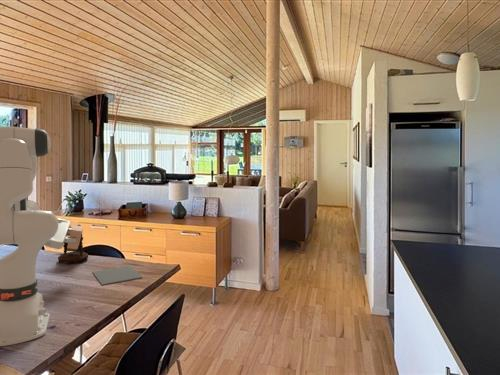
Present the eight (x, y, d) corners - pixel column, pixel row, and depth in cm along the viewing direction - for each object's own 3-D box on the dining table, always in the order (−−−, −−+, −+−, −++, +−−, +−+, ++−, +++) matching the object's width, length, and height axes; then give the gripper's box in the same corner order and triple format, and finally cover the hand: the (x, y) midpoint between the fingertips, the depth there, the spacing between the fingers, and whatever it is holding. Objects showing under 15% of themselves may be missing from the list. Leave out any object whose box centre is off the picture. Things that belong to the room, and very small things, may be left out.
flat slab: (142, 278, 168) (142, 277, 168) (101, 285, 158) (101, 284, 158) (129, 266, 185) (129, 265, 185) (92, 272, 174) (92, 271, 174)
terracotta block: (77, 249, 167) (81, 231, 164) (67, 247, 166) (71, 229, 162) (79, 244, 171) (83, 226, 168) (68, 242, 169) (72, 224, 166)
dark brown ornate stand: (93, 257, 200) (93, 222, 198) (77, 265, 185) (76, 227, 183) (69, 256, 202) (68, 221, 200) (51, 263, 187) (50, 226, 185)
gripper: (39, 237, 152) (74, 242, 157) (50, 215, 170) (82, 220, 175) (37, 249, 154) (72, 254, 159) (48, 226, 172) (79, 231, 177)
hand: (77, 236), depth 167 cm, fingers closed on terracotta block, 4 cm apart
